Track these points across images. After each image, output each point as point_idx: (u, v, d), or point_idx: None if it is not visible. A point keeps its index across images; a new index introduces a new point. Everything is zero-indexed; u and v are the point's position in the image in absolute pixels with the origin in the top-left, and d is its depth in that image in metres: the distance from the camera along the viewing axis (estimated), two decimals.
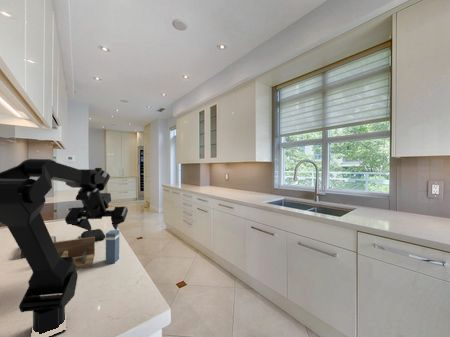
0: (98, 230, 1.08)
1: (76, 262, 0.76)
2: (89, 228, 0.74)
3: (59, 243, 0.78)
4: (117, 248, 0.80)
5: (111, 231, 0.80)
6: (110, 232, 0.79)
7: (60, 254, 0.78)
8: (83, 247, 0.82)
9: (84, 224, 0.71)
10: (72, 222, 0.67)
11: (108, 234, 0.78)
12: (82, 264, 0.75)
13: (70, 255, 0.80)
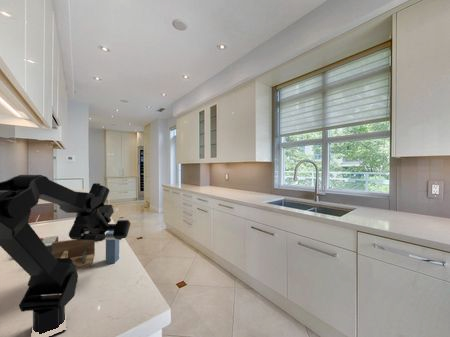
0: None
1: (76, 262, 0.76)
2: (94, 238, 0.75)
3: (59, 243, 0.78)
4: (117, 248, 0.80)
5: (111, 231, 0.80)
6: (110, 232, 0.79)
7: (60, 254, 0.78)
8: (83, 247, 0.82)
9: (88, 237, 0.72)
10: (76, 238, 0.68)
11: (108, 234, 0.78)
12: (82, 264, 0.75)
13: (70, 255, 0.80)
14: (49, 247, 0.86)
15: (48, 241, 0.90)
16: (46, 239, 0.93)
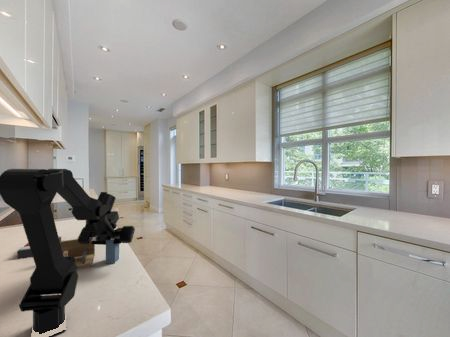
0: None
1: (76, 262, 0.76)
2: None
3: None
4: (117, 248, 0.80)
5: None
6: None
7: None
8: (83, 247, 0.82)
9: (103, 241, 0.77)
10: (84, 243, 0.73)
11: None
12: (82, 264, 0.75)
13: (70, 255, 0.80)
14: None
15: None
16: None
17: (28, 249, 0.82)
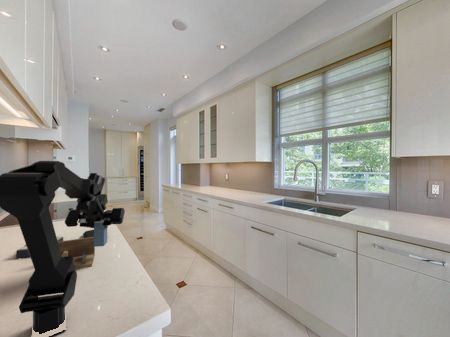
0: None
1: (76, 262, 0.76)
2: None
3: (59, 243, 0.78)
4: (105, 231, 0.80)
5: None
6: None
7: None
8: (83, 247, 0.82)
9: (91, 224, 0.76)
10: (72, 225, 0.71)
11: None
12: (82, 264, 0.75)
13: (70, 255, 0.80)
14: None
15: None
16: None
17: (26, 249, 0.82)
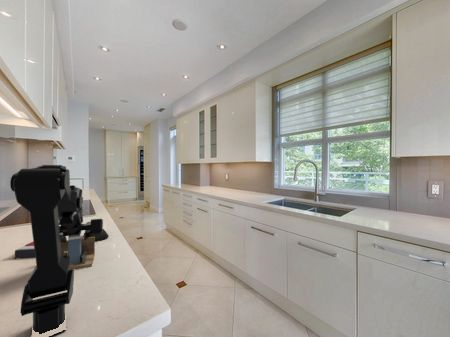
0: None
1: None
2: (65, 240, 0.76)
3: None
4: (80, 247, 0.78)
5: None
6: None
7: None
8: (83, 247, 0.82)
9: (62, 238, 0.73)
10: None
11: None
12: (82, 264, 0.75)
13: None
14: None
15: None
16: None
17: (24, 250, 0.81)
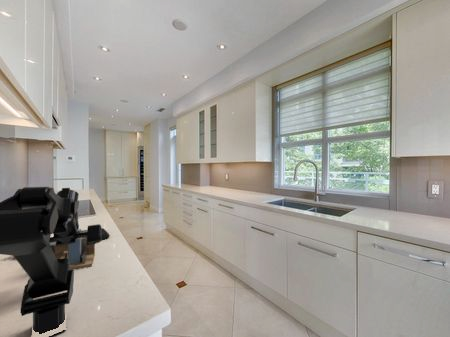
0: (101, 229, 1.09)
1: None
2: (53, 251, 0.66)
3: None
4: (80, 247, 0.78)
5: None
6: None
7: (60, 254, 0.78)
8: (83, 247, 0.82)
9: None
10: None
11: None
12: (82, 264, 0.75)
13: None
14: None
15: None
16: None
17: None
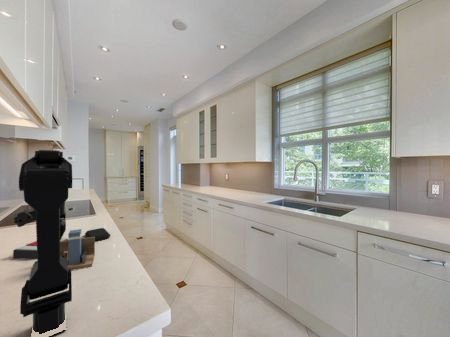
0: (102, 229, 1.09)
1: None
2: None
3: None
4: (80, 247, 0.78)
5: (73, 231, 0.77)
6: (72, 232, 0.76)
7: (60, 254, 0.78)
8: (83, 247, 0.82)
9: None
10: None
11: (71, 234, 0.75)
12: (82, 264, 0.75)
13: None
14: (34, 252, 0.81)
15: None
16: None
17: (21, 250, 0.81)
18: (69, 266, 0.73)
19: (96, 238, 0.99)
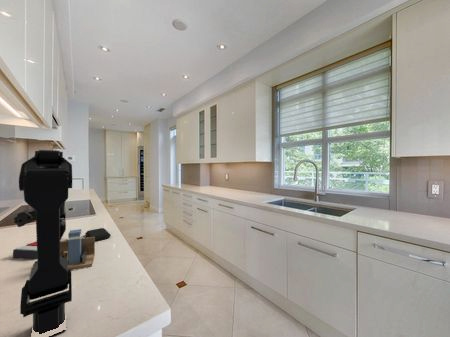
0: (102, 229, 1.10)
1: None
2: None
3: None
4: (80, 247, 0.78)
5: (73, 231, 0.77)
6: (72, 232, 0.76)
7: (60, 254, 0.78)
8: (83, 247, 0.82)
9: None
10: None
11: (71, 234, 0.75)
12: (82, 264, 0.75)
13: None
14: (33, 252, 0.80)
15: None
16: None
17: (20, 250, 0.81)
18: (69, 266, 0.73)
19: (96, 238, 0.99)
